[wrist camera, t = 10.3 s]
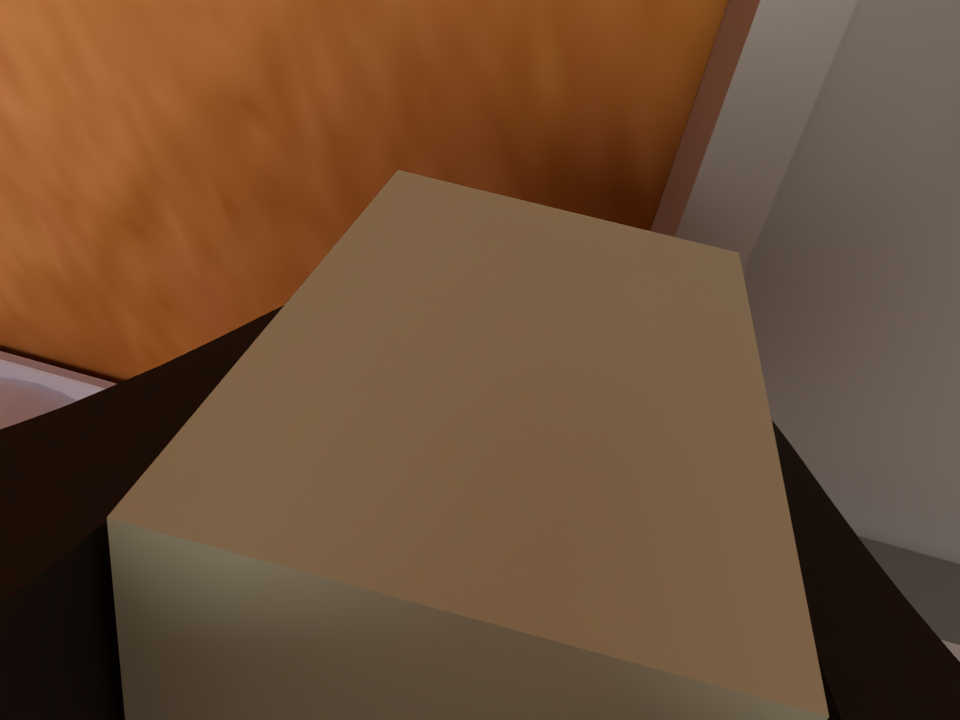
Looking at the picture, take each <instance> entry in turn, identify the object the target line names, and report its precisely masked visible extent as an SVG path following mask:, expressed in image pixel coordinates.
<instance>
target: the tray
mask: <svg viewBox="0 0 960 720" xmlns="http://www.w3.org/2000/svg"><path fill="white" fill-rule="evenodd" d="M650 231H652V232H656V233H660V234H664V235H668V236H672V237H676V238H680V239H685V240H689V241H693V242H697V243H701V244H705V245H709V246H713V247H717V248H722V249H726V250H730V251H734V252H738V253H739V255H740V260H741V265H742V270H743V275H744V280H745V286H746V291H747V296H748V301H749V306H750V311H751V316H752V322H753V327H754V332H755V337H756V342H757V347H758V353H759V358H760V363H761V368H762V373H763V378H764V383H765V389H766V394H767V399H768V404H769V409H770V414H771V420H772V421H773V422H774V423H775V424H776V426H777V427H778V428H779V429H780V430H781V432H782V433H783V434H784V436H785V437H786V438H787V440H788V441H789V442H790V444H791V445H792V447H793V448H794V449H795V451H796V452H797V453H798V455H799V456H800V458H801V459H802V460H803V462H804V463H805V465H806V466H807V467H808V469H809V470H810V472H811V473H812V474H813V476H814V477H815V479H816V480H817V481H818V483H819V484H820V485H821V487H822V488H823V490H824V491H825V492H826V494H827V495H828V497H829V498H830V499H831V501H832V502H833V504H834V505H835V506H836V508H837V509H838V510H839V512H840V513H841V514H842V516H843V517H844V519H845V520H846V521H847V523H848V524H849V525H850V527H851V528H852V529H853V531H854V532H855V533H856V535H857V536H858V537H859V539H860V540H861V541H862V543H863V544H864V545H865V547H866V548H867V549H868V551H869V552H870V553H871V555H872V556H873V557H874V558H875V560H876V561H877V562H878V564H879V565H880V566H881V567H882V569H883V570H884V571H885V573H886V574H887V575H888V576H889V578H890V579H891V580H892V581H893V583H894V584H895V585H896V586H897V588H898V589H899V590H900V591H901V593H902V594H903V595H904V596H905V598H906V599H907V600H908V601H909V603H910V604H911V605H912V606H913V607H914V608H915V610H916V611H917V612H918V613H919V614H920V616H921V617H922V618H923V619H924V620H925V622H926V623H927V624H928V625H929V626H930V627H931V629H932V630H933V631H934V632H935V633H936V635H937V636H938V637H939V638H940V639H941V640H942V642H943V643H944V644H945V645H946V646H947V648H948V649H949V650H950V651H951V652H952V654H953V655H954V656H955V657H956V658H957V659H958V660H959V662H960V0H729V1H728V4H727V7H726V10H725V13H724V16H723V19H722V22H721V25H720V27H719V30H718V33H717V36H716V39H715V42H714V45H713V48H712V51H711V54H710V57H709V60H708V63H707V66H706V69H705V71H704V74H703V77H702V80H701V83H700V86H699V89H698V92H697V95H696V98H695V101H694V104H693V107H692V110H691V113H690V115H689V118H688V121H687V124H686V127H685V130H684V133H683V136H682V139H681V142H680V145H679V148H678V151H677V154H676V157H675V159H674V162H673V165H672V168H671V171H670V174H669V177H668V180H667V183H666V186H665V189H664V192H663V195H662V198H661V201H660V203H659V206H658V209H657V212H656V215H655V218H654V221H653V224H652V227H651V230H650Z"/></svg>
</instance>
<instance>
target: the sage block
mask: <svg viewBox="0 0 960 720" xmlns="http://www.w3.org/2000/svg"><path fill="white" fill-rule="evenodd" d="M107 527H108V538H109V549H110V560H111V571H112V582H113V593H114V604H115V615H116V625H117V636H118V647H119V658H120V669H121V680H122V691H123V702H124V713H125V720H827V719H828V718H829V713H828V708H827V703H826V698H825V693H824V688H823V682H822V677H821V672H820V667H819V662H818V657H817V651H816V646H815V641H814V636H813V631H812V626H811V621H810V615H809V610H808V605H807V600H806V595H805V590H804V584H803V579H802V574H801V569H800V564H799V559H798V554H797V548H796V543H795V538H794V533H793V528H792V523H791V517H790V512H789V507H788V502H787V497H786V492H785V487H784V481H783V476H782V471H781V466H780V461H779V456H778V450H777V445H776V440H775V435H774V430H773V425H772V420H771V414H770V409H769V404H768V399H767V394H766V389H765V383H764V378H763V373H762V368H761V363H760V358H759V353H758V347H757V342H756V337H755V332H754V327H753V322H752V316H751V311H750V306H749V301H748V296H747V291H746V286H745V280H744V275H743V270H742V265H741V260H740V255H739V253H738V252H734V251H730V250H726V249H722V248H717V247H713V246H709V245H705V244H701V243H697V242H693V241H689V240H685V239H680V238H676V237H672V236H668V235H664V234H660V233H656V232H652V231H647V230H643V229H639V228H635V227H631V226H627V225H623V224H619V223H615V222H610V221H606V220H602V219H598V218H594V217H590V216H586V215H582V214H577V213H573V212H569V211H565V210H561V209H557V208H553V207H549V206H545V205H540V204H536V203H532V202H528V201H524V200H520V199H516V198H512V197H507V196H503V195H499V194H495V193H491V192H487V191H483V190H479V189H475V188H470V187H466V186H462V185H458V184H454V183H450V182H446V181H442V180H438V179H433V178H429V177H425V176H421V175H417V174H413V173H409V172H405V171H400V170H397V172H396V173H395V174H394V175H393V176H392V178H391V179H390V180H389V181H388V182H387V184H386V185H385V186H384V187H383V188H382V190H381V191H380V192H379V193H378V194H377V195H376V197H375V198H374V199H373V200H372V201H371V203H370V204H369V205H368V206H367V207H366V209H365V210H364V211H363V212H362V213H361V215H360V216H359V217H358V218H357V219H356V221H355V222H354V223H353V224H352V225H351V227H350V228H349V229H348V230H347V231H346V232H345V234H344V235H343V236H342V237H341V238H340V240H339V241H338V242H337V243H336V244H335V246H334V247H333V248H332V249H331V250H330V252H329V253H328V254H327V255H326V256H325V258H324V259H323V260H322V261H321V262H320V264H319V265H318V266H317V267H316V268H315V269H314V271H313V272H312V273H311V274H310V275H309V277H308V278H307V279H306V280H305V281H304V283H303V284H302V285H301V286H300V287H299V289H298V290H297V291H296V292H295V293H294V295H293V296H292V297H291V298H290V299H289V301H288V302H287V303H286V304H285V305H284V306H283V308H282V309H281V310H280V311H279V312H278V314H277V315H276V316H275V317H274V318H273V320H272V321H271V322H270V323H269V324H268V326H267V327H266V328H265V329H264V330H263V332H262V333H261V334H260V335H259V336H258V338H257V339H256V340H255V341H254V342H253V343H252V345H251V346H250V347H249V348H248V349H247V351H246V352H245V353H244V354H243V355H242V357H241V358H240V359H239V360H238V361H237V363H236V364H235V365H234V366H233V367H232V369H231V370H230V371H229V372H228V373H227V375H226V376H225V377H224V378H223V379H222V380H221V382H220V383H219V384H218V385H217V386H216V388H215V389H214V390H213V391H212V392H211V394H210V395H209V396H208V397H207V398H206V400H205V401H204V402H203V403H202V404H201V406H200V407H199V408H198V409H197V410H196V412H195V413H194V414H193V415H192V416H191V417H190V419H189V420H188V421H187V422H186V423H185V425H184V426H183V427H182V428H181V429H180V431H179V432H178V433H177V434H176V435H175V437H174V438H173V439H172V440H171V441H170V443H169V444H168V445H167V446H166V447H165V449H164V450H163V451H162V452H161V453H160V454H159V456H158V457H157V458H156V459H155V460H154V462H153V463H152V464H151V465H150V466H149V468H148V469H147V470H146V471H145V472H144V474H143V475H142V476H141V477H140V478H139V480H138V481H137V482H136V483H135V484H134V486H133V487H132V488H131V489H130V490H129V491H128V493H127V494H126V495H125V496H124V497H123V499H122V500H121V501H120V502H119V503H118V505H117V506H116V507H115V508H114V509H113V511H112V512H111V513H110V514H109V515H108V517H107Z"/></svg>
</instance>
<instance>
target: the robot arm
mask: <svg viewBox="0 0 960 720" xmlns="http://www.w3.org/2000/svg"><path fill="white" fill-rule="evenodd" d="M282 308H283V306H282V307H280V308H278V309H276V310H274V311H271V312H269V313H267V314H265V315H263V316H261V317H259V318H257V319H255V320H253V321H251V322H249V323H247V324H245V325H243V326H241V327H239V328H237V329H235V330H233V331H231V332H229V333H227V334H225V335H223V336H221V337H219V338H217V339H215V340H213V341H211V342H209V343H207V344H205V345H203V346H200V347H198V348H196V349H194V350H192V351H190V352H188V353H186V354H184V355H182V356H180V357H178V358H175V359H173V360H171V361H169V362H167V363H165V364H163V365H161V366H158V367H156V368H154V369H151V370H149V371H147V372H144V373H142V374H140V375H137V376H135V377H132V378H130V379H128V380H125V381H123V382H121V383H118V384H116V383H113V382H109V381H106V380H102V379H99V378H95V377H91V376H88V375H84V374H81V373H77V372H74V371H70V370H67V369H63V368H59V367H56V366H52V365H49V364H45V363H42V362H38V361H34V360H31V359H27V358H24V357H20V356H17V355H13V354H9V353H6V352H2V351H0V720H125V713H124V702H123V691H122V680H121V669H120V658H119V647H118V636H117V625H116V615H115V604H114V593H113V582H112V571H111V560H110V549H109V538H108V527H107V517H108V515H109V514H110V513H111V512H112V511H113V509H114V508H115V507H116V506H117V505H118V503H119V502H120V501H121V500H122V499H123V497H124V496H125V495H126V494H127V493H128V491H129V490H130V489H131V488H132V487H133V486H134V484H135V483H136V482H137V481H138V480H139V478H140V477H141V476H142V475H143V474H144V472H145V471H146V470H147V469H148V468H149V466H150V465H151V464H152V463H153V462H154V460H155V459H156V458H157V457H158V456H159V454H160V453H161V452H162V451H163V450H164V449H165V447H166V446H167V445H168V444H169V443H170V441H171V440H172V439H173V438H174V437H175V435H176V434H177V433H178V432H179V431H180V429H181V428H182V427H183V426H184V425H185V423H186V422H187V421H188V420H189V419H190V417H191V416H192V415H193V414H194V413H195V412H196V410H197V409H198V408H199V407H200V406H201V404H202V403H203V402H204V401H205V400H206V398H207V397H208V396H209V395H210V394H211V392H212V391H213V390H214V389H215V388H216V386H217V385H218V384H219V383H220V382H221V380H222V379H223V378H224V377H225V376H226V375H227V373H228V372H229V371H230V370H231V369H232V367H233V366H234V365H235V364H236V363H237V361H238V360H239V359H240V358H241V357H242V355H243V354H244V353H245V352H246V351H247V349H248V348H249V347H250V346H251V345H252V343H253V342H254V341H255V340H256V339H257V338H258V336H259V335H260V334H261V333H262V332H263V330H264V329H265V328H266V327H267V326H268V324H269V323H270V322H271V321H272V320H273V318H274V317H275V316H276V315H277V314H278V312H279V311H280V310H281V309H282ZM772 425H773V430H774V435H775V440H776V445H777V450H778V456H779V461H780V466H781V471H782V476H783V481H784V487H785V492H786V497H787V502H788V507H789V512H790V517H791V523H792V528H793V533H794V538H795V543H796V548H797V554H798V559H799V564H800V569H801V574H802V579H803V584H804V590H805V595H806V600H807V605H808V610H809V615H810V621H811V626H812V631H813V636H814V641H815V646H816V651H817V657H818V662H819V667H820V672H821V677H822V682H823V688H824V693H825V698H826V703H827V708H828V713H829V718H828V719H827V720H960V662H959V660H958V659H957V658H956V657H955V656H954V655H953V654H952V652H951V651H950V650H949V649H948V648H947V646H946V645H945V644H944V643H943V642H942V640H941V639H940V638H939V637H938V636H937V635H936V633H935V632H934V631H933V630H932V629H931V627H930V626H929V625H928V624H927V623H926V622H925V620H924V619H923V618H922V617H921V616H920V614H919V613H918V612H917V611H916V610H915V608H914V607H913V606H912V605H911V604H910V603H909V601H908V600H907V599H906V598H905V596H904V595H903V594H902V593H901V591H900V590H899V589H898V588H897V586H896V585H895V584H894V583H893V581H892V580H891V579H890V578H889V576H888V575H887V574H886V573H885V571H884V570H883V569H882V567H881V566H880V565H879V564H878V562H877V561H876V560H875V558H874V557H873V556H872V555H871V553H870V552H869V551H868V549H867V548H866V547H865V545H864V544H863V543H862V541H861V540H860V539H859V537H858V536H857V535H856V533H855V532H854V531H853V529H852V528H851V527H850V525H849V524H848V523H847V521H846V520H845V519H844V517H843V516H842V514H841V513H840V512H839V510H838V509H837V508H836V506H835V505H834V504H833V502H832V501H831V499H830V498H829V497H828V495H827V494H826V492H825V491H824V490H823V488H822V487H821V485H820V484H819V483H818V481H817V480H816V479H815V477H814V476H813V474H812V473H811V472H810V470H809V469H808V467H807V466H806V465H805V463H804V462H803V460H802V459H801V458H800V456H799V455H798V453H797V452H796V451H795V449H794V448H793V447H792V445H791V444H790V442H789V441H788V440H787V438H786V437H785V436H784V434H783V433H782V432H781V430H780V429H779V428H778V427H777V426H776V424H775V423H774V422H773V421H772Z"/></svg>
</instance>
